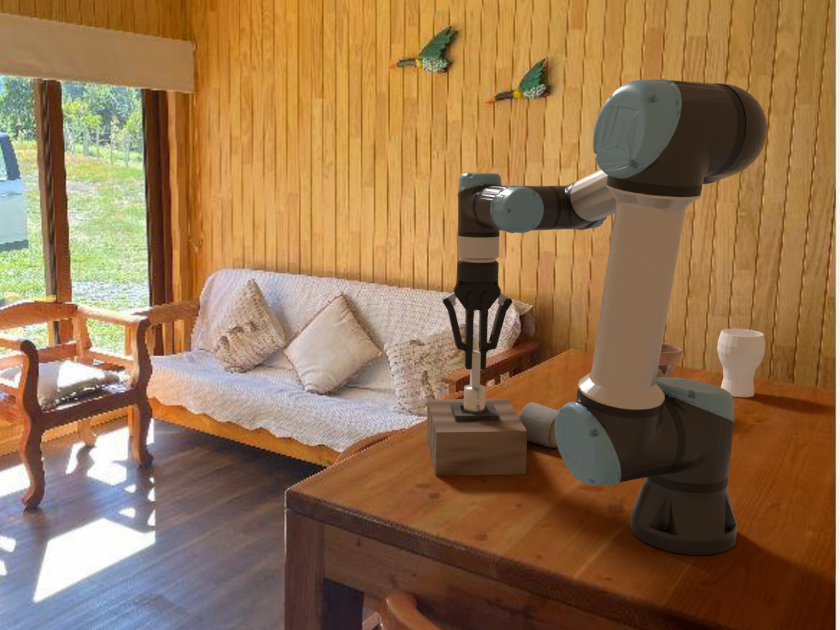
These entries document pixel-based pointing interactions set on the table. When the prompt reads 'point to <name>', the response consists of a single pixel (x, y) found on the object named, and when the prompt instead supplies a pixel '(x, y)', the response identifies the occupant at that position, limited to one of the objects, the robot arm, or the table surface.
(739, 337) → the cup
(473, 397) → the peg
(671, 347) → the ceramic jug
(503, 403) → the socket block
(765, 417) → the table surface
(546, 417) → the ceramic mug
